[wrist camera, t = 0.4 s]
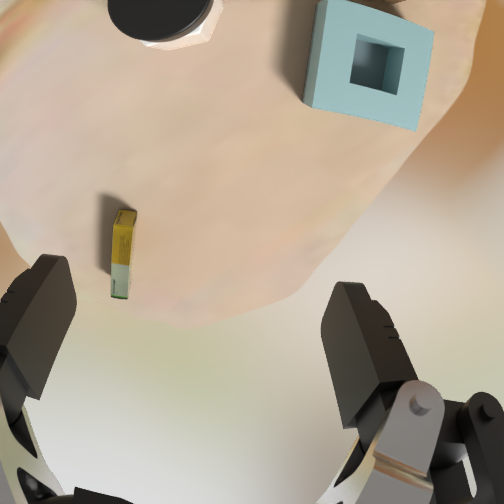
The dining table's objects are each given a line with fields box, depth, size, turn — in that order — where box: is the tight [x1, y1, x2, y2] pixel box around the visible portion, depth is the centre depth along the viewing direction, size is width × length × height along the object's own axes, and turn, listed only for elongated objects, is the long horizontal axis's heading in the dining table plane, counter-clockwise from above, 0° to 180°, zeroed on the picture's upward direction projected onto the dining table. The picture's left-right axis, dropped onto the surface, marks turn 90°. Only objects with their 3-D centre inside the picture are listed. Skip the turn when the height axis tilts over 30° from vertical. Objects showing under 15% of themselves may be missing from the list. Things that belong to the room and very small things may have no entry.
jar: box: [108, 0, 224, 51], centre depth 22 cm, size 9×8×12 cm
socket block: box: [302, 0, 434, 132], centre depth 28 cm, size 12×12×5 cm
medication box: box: [111, 210, 137, 299], centre depth 40 cm, size 12×3×4 cm, turn 164°
